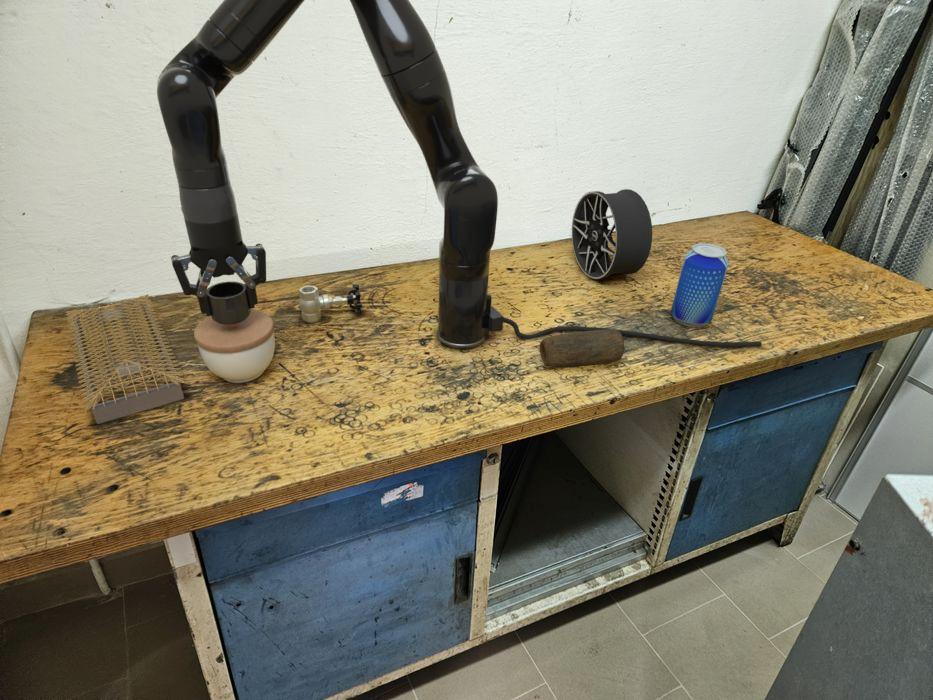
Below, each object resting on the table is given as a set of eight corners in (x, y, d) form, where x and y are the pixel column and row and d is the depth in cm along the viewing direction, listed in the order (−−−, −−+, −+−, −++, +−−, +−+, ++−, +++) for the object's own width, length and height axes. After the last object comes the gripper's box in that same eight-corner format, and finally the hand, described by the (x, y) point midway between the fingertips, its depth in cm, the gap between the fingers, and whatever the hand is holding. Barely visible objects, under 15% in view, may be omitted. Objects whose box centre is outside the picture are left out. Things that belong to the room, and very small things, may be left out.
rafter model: (191, 399, 96) (183, 368, 93) (91, 429, 90) (78, 397, 86) (152, 309, 121) (144, 282, 117) (71, 327, 114) (60, 299, 110)
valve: (302, 327, 117) (363, 320, 120) (298, 298, 113) (360, 291, 116) (300, 311, 122) (358, 305, 125) (296, 283, 119) (356, 277, 122)
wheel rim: (567, 258, 150) (577, 180, 139) (598, 254, 153) (611, 177, 142) (608, 293, 134) (624, 208, 123) (642, 288, 137) (660, 205, 126)
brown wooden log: (606, 348, 114) (612, 318, 111) (623, 368, 109) (630, 338, 105) (534, 357, 111) (537, 327, 107) (548, 378, 105) (552, 347, 101)
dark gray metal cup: (247, 305, 101) (242, 278, 98) (254, 321, 97) (249, 294, 94) (209, 311, 99) (203, 285, 96) (214, 329, 94) (208, 301, 92)
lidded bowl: (188, 381, 101) (173, 325, 95) (238, 345, 111) (227, 293, 105) (248, 400, 97) (236, 343, 91) (294, 361, 107) (286, 308, 101)
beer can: (712, 315, 127) (733, 246, 119) (708, 333, 121) (730, 261, 112) (672, 306, 130) (690, 238, 121) (666, 323, 124) (684, 252, 115)
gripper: (159, 227, 82) (185, 329, 91) (264, 214, 88) (279, 312, 97) (156, 209, 88) (181, 308, 97) (255, 199, 94) (270, 292, 103)
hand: (230, 309), depth 97 cm, fingers closed on dark gray metal cup, 6 cm apart
